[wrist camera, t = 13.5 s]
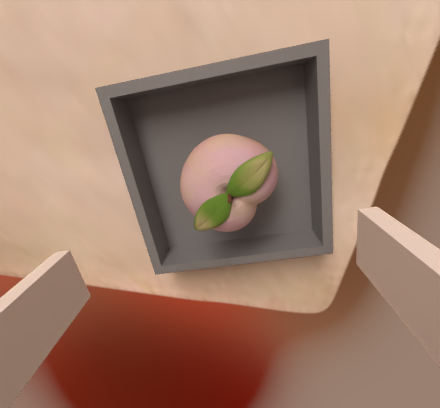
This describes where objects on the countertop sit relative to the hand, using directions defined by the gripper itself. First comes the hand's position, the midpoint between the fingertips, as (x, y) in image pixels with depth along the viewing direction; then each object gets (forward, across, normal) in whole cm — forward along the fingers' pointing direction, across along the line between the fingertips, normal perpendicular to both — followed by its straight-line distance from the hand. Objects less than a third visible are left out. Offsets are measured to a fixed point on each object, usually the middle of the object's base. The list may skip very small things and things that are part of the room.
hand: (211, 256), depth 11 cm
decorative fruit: (+18, 0, 0) cm, 18 cm away
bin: (+19, 0, 0) cm, 19 cm away
